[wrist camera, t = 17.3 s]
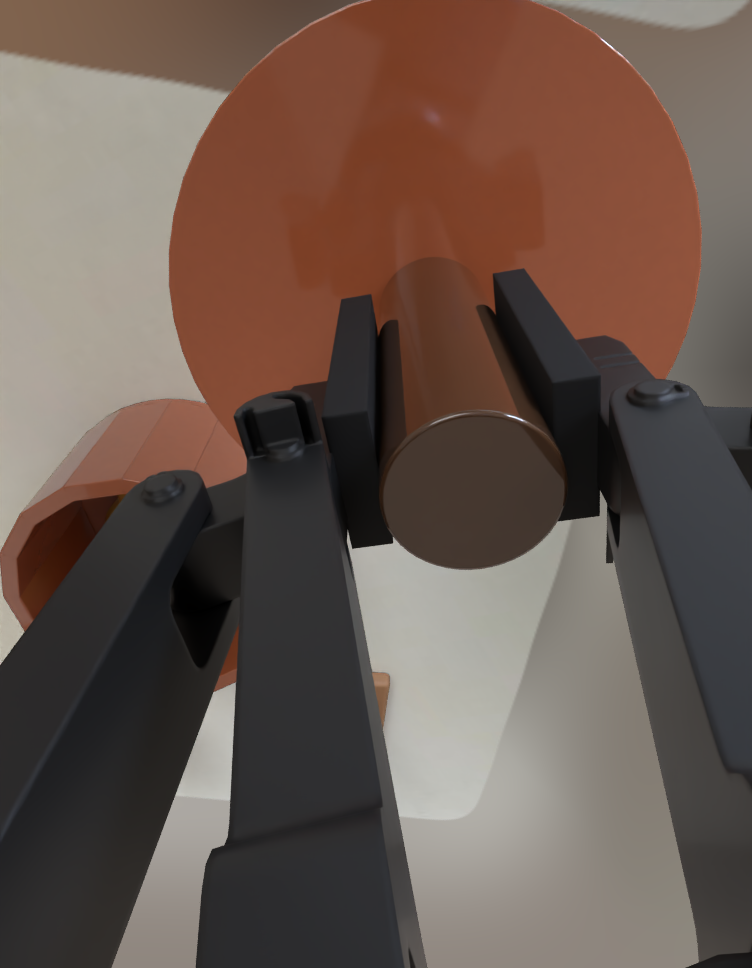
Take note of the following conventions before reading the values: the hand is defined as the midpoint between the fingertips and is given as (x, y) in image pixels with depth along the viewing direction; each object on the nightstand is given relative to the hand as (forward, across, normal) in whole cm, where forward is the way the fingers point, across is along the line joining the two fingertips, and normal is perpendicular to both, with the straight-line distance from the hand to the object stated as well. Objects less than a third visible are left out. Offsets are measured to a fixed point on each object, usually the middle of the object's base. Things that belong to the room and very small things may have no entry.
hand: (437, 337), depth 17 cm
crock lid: (+3, 0, 0) cm, 3 cm away
